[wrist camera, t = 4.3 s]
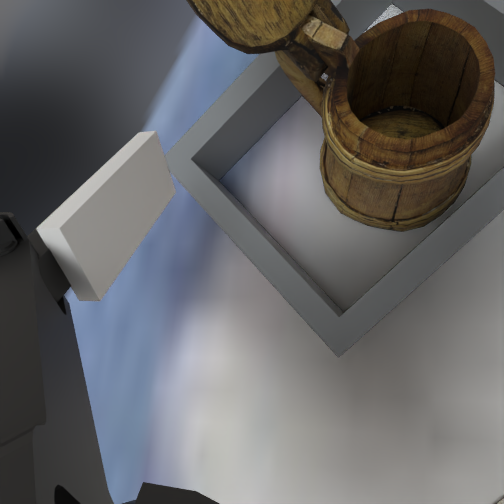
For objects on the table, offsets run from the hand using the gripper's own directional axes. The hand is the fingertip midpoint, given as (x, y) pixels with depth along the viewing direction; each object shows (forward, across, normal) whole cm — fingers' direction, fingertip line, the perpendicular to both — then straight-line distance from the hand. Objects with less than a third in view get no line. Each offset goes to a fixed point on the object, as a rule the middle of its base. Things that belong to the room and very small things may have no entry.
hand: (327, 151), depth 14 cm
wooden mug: (+13, +1, -6) cm, 14 cm away
